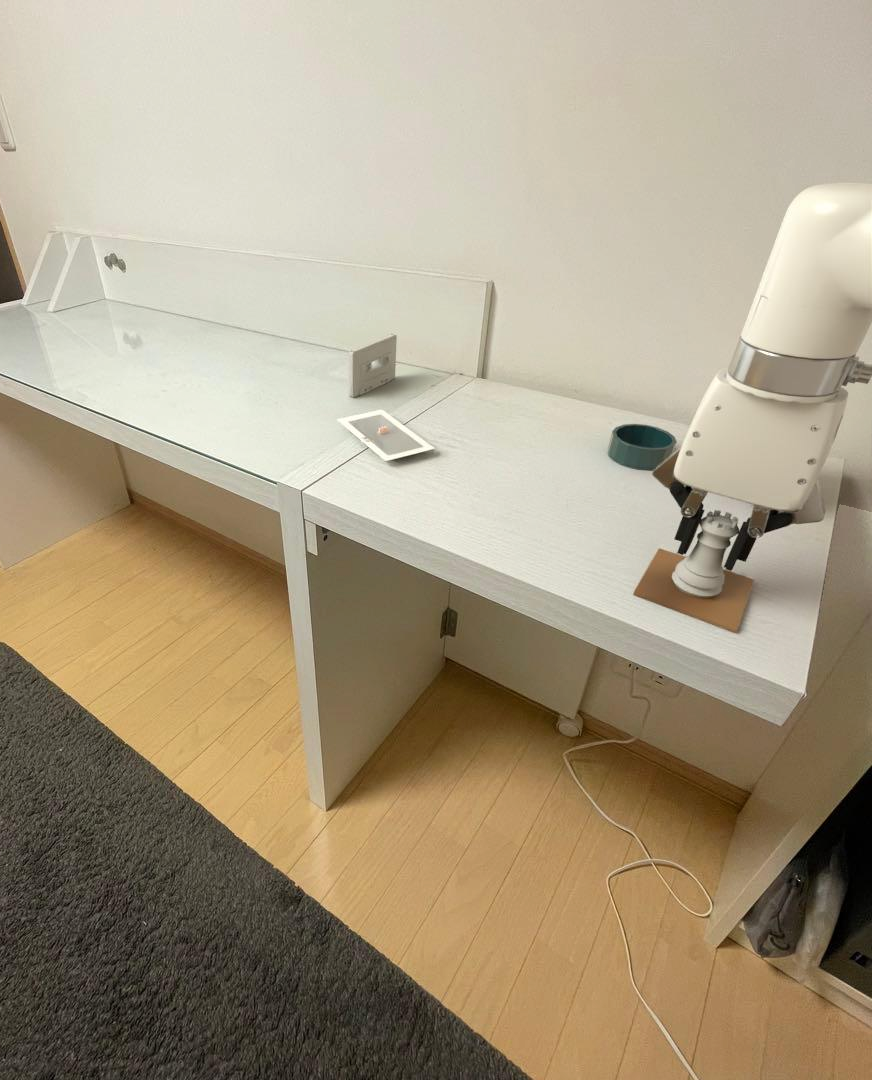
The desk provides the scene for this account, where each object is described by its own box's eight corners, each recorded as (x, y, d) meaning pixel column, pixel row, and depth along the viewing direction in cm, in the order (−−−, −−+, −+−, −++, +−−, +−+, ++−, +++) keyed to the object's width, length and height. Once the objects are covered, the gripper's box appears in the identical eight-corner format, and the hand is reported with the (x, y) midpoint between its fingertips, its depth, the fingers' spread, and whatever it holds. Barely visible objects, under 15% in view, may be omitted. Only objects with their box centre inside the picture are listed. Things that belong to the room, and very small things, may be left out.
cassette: (354, 399, 101) (354, 353, 97) (346, 396, 102) (345, 350, 98) (397, 378, 109) (399, 334, 104) (389, 376, 110) (390, 332, 105)
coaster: (753, 582, 61) (754, 579, 61) (735, 633, 55) (737, 630, 55) (658, 550, 66) (659, 547, 65) (632, 594, 60) (634, 591, 60)
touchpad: (381, 416, 96) (382, 403, 94) (434, 455, 84) (435, 441, 83) (336, 426, 93) (336, 412, 92) (385, 468, 82) (385, 453, 81)
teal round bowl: (676, 453, 84) (682, 433, 82) (660, 476, 79) (667, 455, 77) (617, 438, 88) (622, 419, 86) (599, 459, 83) (604, 439, 81)
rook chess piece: (691, 566, 63) (717, 500, 58) (731, 591, 59) (762, 523, 55) (660, 579, 61) (684, 512, 57) (699, 605, 58) (728, 536, 53)
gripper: (922, 374, 46) (814, 567, 56) (683, 336, 54) (629, 510, 65) (922, 408, 41) (804, 611, 52) (660, 360, 49) (606, 543, 60)
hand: (707, 553), depth 58 cm, fingers closed on rook chess piece, 3 cm apart
